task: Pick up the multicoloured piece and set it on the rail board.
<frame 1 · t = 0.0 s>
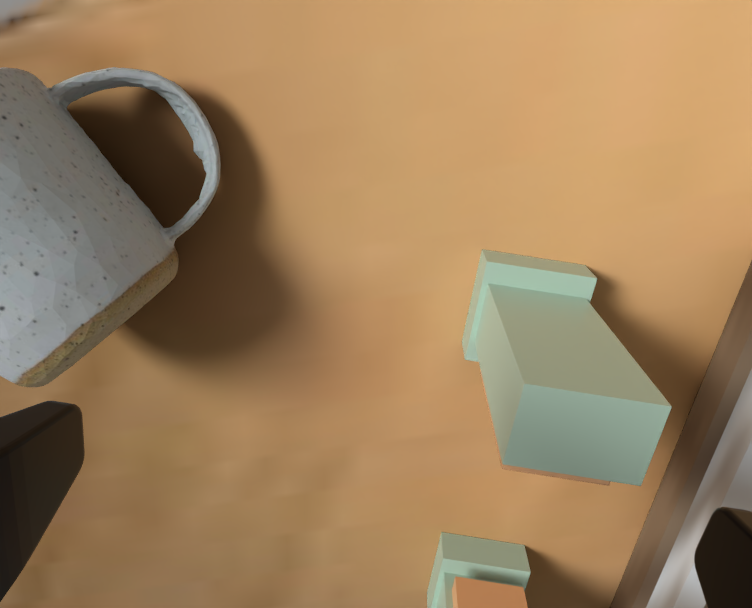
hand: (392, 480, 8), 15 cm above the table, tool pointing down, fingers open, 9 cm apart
multicoloured piece: (474, 569, 28), on the table
ceramic mug: (105, 187, 22), on the table
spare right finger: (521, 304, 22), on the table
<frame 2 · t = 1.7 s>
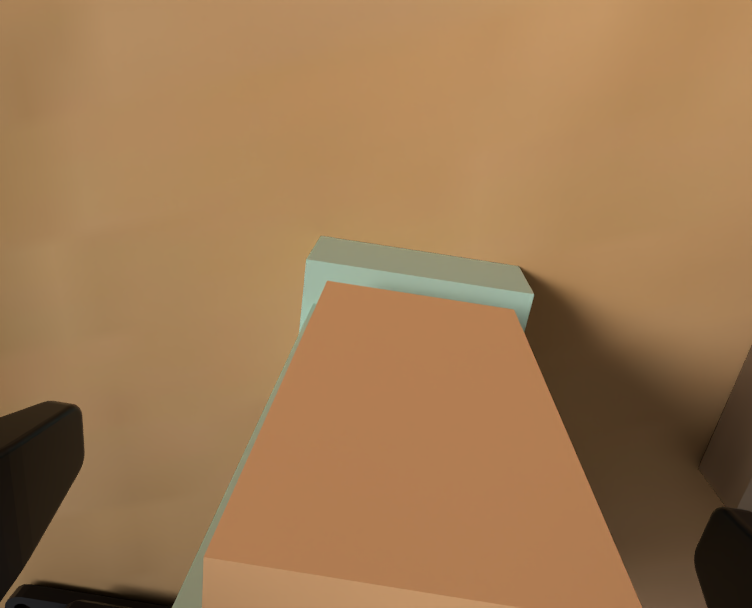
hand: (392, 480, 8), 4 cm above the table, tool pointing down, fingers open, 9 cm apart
multicoloured piece: (403, 340, 12), on the table
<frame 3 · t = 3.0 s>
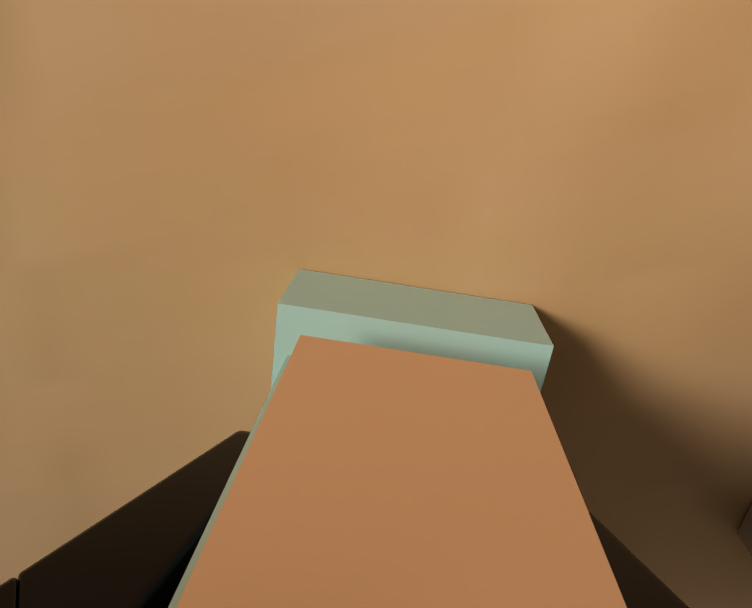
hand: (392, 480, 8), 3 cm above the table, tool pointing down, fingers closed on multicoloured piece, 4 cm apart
multicoloured piece: (397, 388, 10), on the table, touching gripper
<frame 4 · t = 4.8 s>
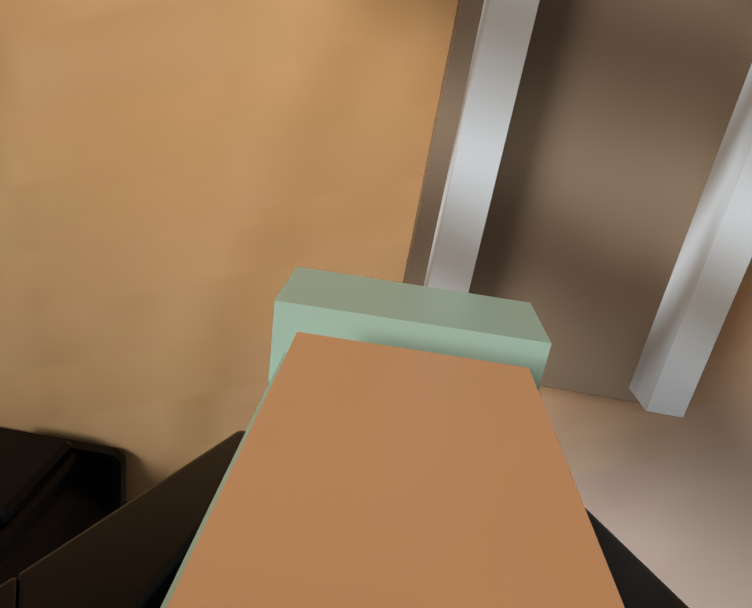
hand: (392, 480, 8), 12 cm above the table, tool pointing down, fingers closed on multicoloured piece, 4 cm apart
rail board: (610, 77, 17), on the table
multicoloured piece: (395, 386, 10), point 10 cm above the table, touching gripper
when the fingers open (5 cm above the table, at t = 6.4 s): multicoloured piece stays where it is, resting on rail board.
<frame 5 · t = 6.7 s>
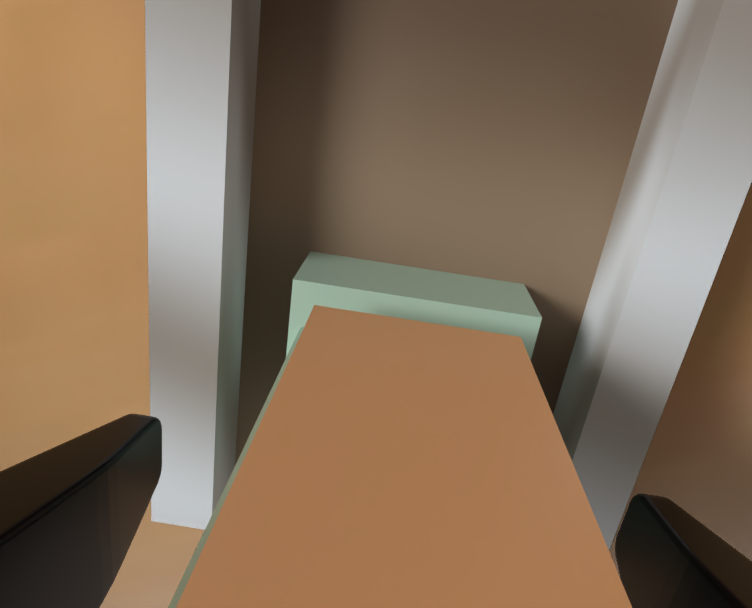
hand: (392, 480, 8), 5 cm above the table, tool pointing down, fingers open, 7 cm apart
rail board: (453, 39, 10), on the table
multicoloured piece: (400, 362, 11), point 1 cm above the table, touching rail board
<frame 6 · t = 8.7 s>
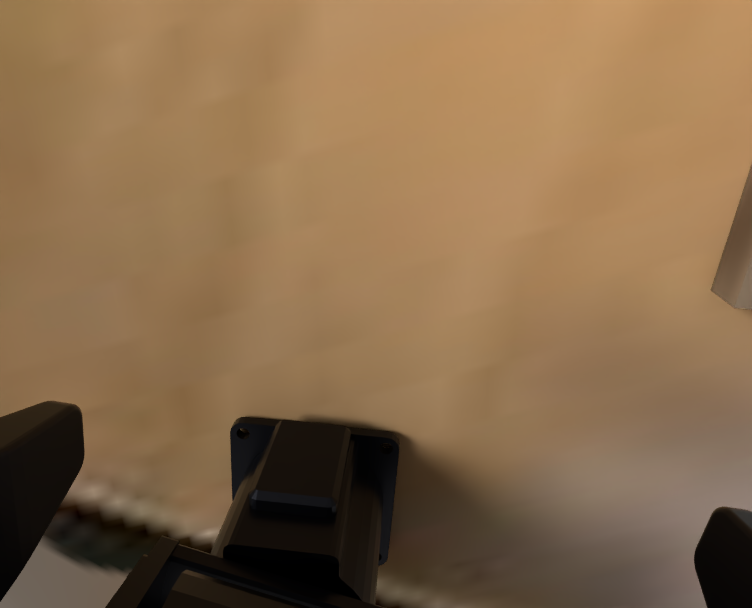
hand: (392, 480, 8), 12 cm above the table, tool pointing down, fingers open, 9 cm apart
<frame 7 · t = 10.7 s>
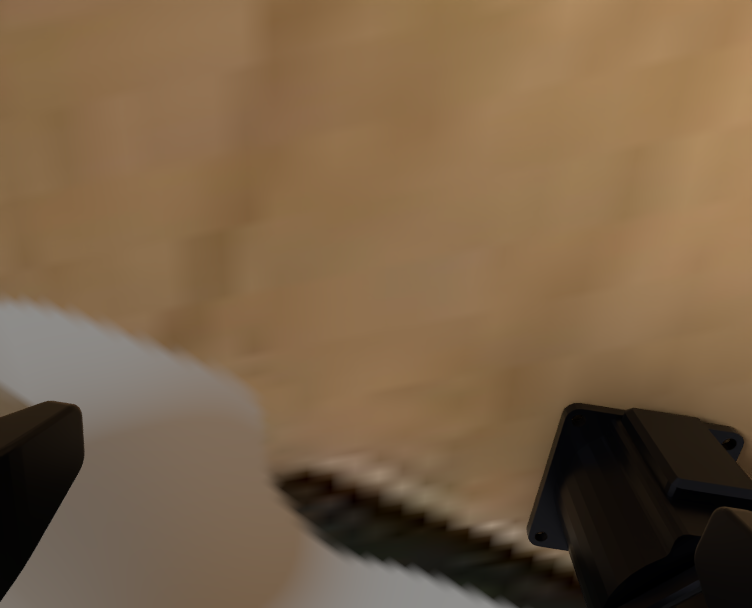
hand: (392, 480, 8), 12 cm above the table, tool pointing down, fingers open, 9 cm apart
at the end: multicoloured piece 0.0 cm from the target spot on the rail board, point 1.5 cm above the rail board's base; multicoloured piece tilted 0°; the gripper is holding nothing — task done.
